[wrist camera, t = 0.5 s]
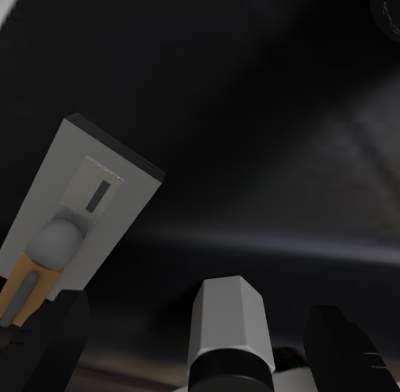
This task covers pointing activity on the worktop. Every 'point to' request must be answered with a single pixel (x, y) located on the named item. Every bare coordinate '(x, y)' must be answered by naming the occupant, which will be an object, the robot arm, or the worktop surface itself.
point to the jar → (229, 339)
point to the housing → (83, 198)
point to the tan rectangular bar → (38, 270)
